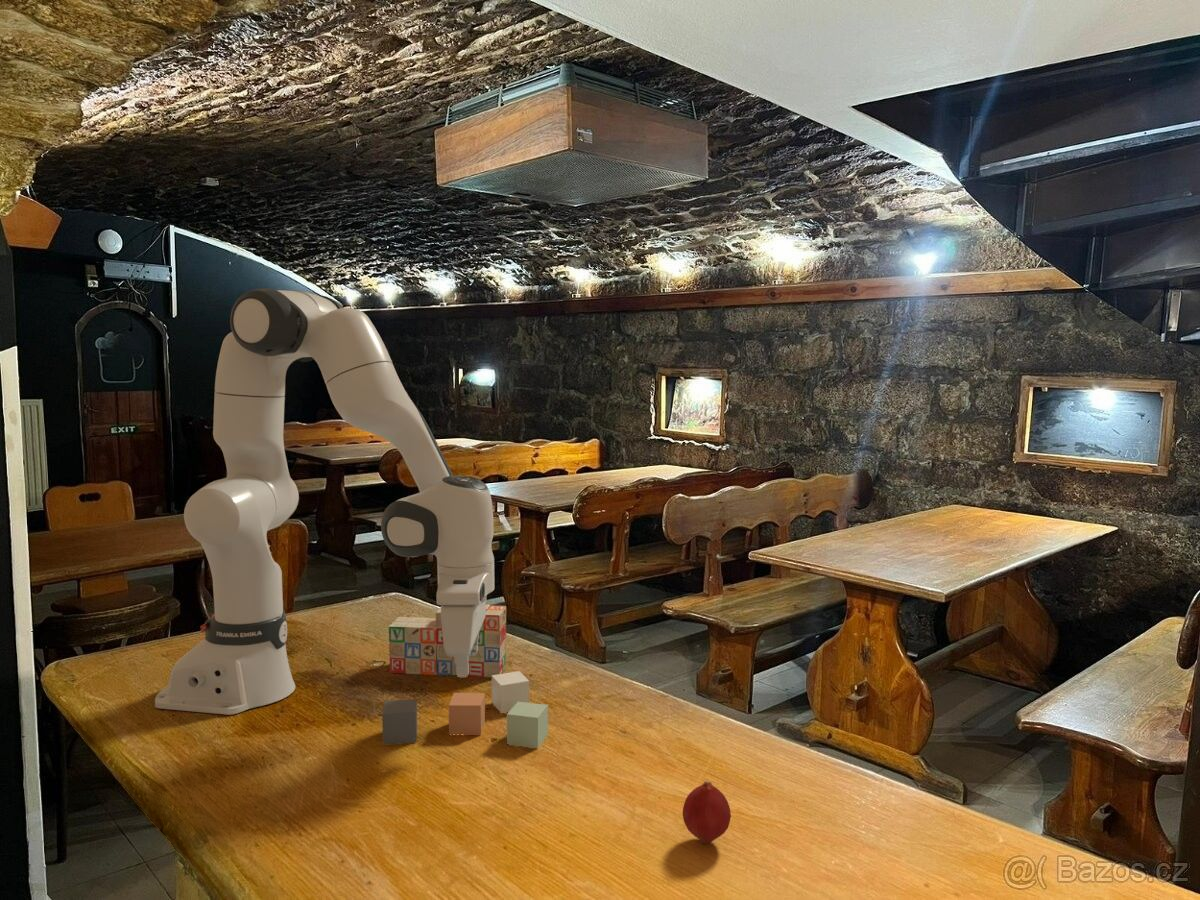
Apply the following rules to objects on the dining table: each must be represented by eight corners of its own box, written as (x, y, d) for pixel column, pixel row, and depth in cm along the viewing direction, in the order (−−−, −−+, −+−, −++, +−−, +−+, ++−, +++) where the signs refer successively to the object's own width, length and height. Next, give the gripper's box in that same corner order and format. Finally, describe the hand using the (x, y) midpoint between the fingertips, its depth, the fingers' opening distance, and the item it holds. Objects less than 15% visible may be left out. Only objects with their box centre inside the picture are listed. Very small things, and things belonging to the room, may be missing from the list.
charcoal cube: (382, 745, 128) (382, 714, 127) (385, 731, 133) (384, 701, 132) (416, 743, 129) (415, 711, 128) (417, 729, 134) (416, 699, 133)
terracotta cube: (449, 735, 131) (448, 705, 131) (454, 722, 136) (453, 692, 136) (480, 736, 132) (480, 705, 131) (484, 722, 136) (484, 692, 136)
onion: (678, 829, 105) (679, 769, 104) (723, 828, 106) (725, 767, 105) (687, 857, 99) (688, 792, 98) (734, 854, 100) (736, 791, 99)
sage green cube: (506, 745, 128) (506, 714, 128) (518, 731, 133) (518, 701, 133) (537, 749, 127) (537, 717, 127) (548, 735, 132) (548, 704, 131)
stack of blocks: (388, 674, 158) (387, 610, 156) (399, 662, 164) (398, 601, 163) (500, 678, 156) (500, 614, 154) (507, 666, 162) (506, 604, 161)
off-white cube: (501, 714, 140) (501, 685, 139) (491, 703, 144) (491, 675, 144) (529, 709, 142) (529, 680, 141) (519, 698, 146) (519, 671, 146)
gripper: (456, 564, 142) (458, 643, 143) (434, 597, 121) (435, 689, 123) (494, 564, 142) (494, 643, 143) (477, 597, 121) (478, 689, 123)
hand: (467, 664), depth 133 cm, fingers open, 8 cm apart
